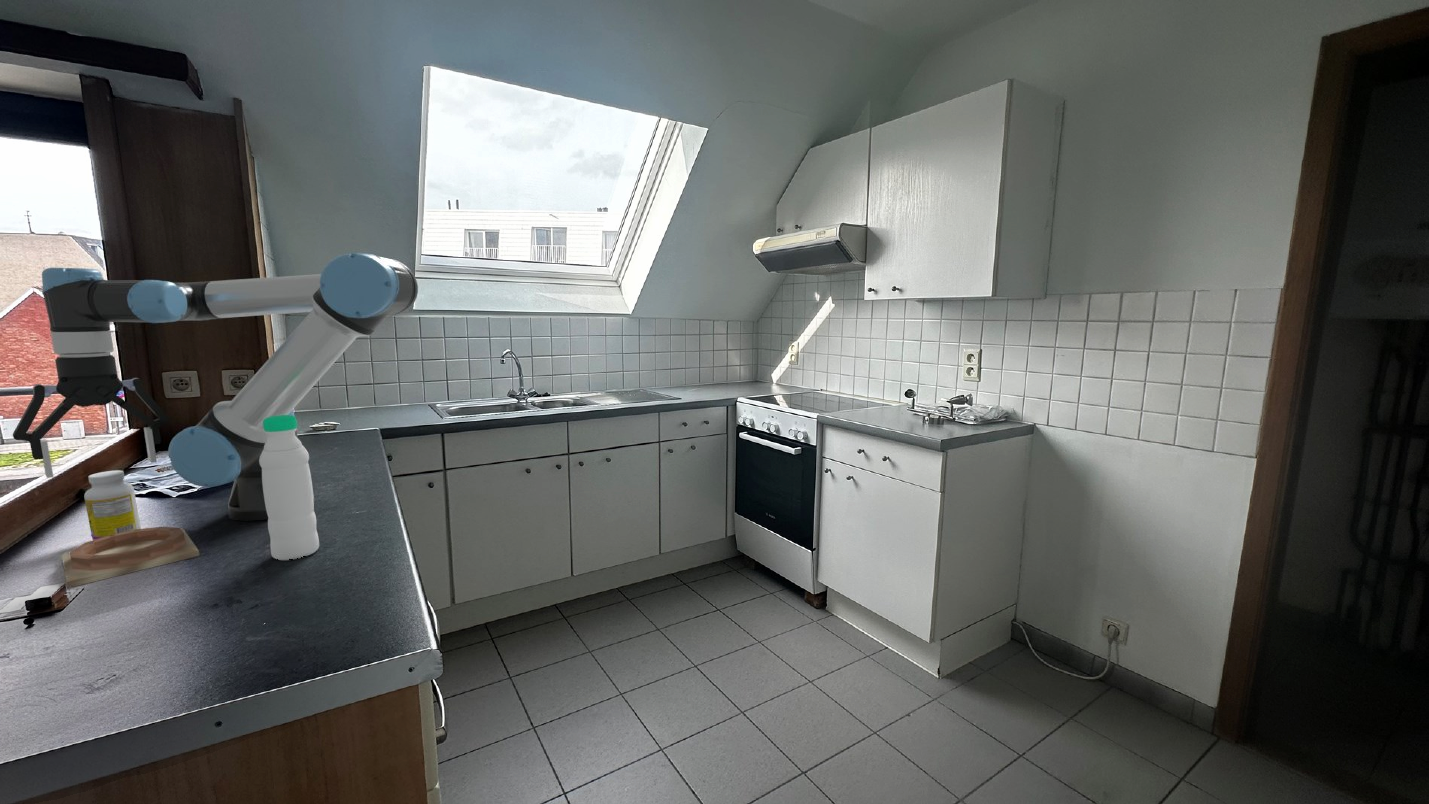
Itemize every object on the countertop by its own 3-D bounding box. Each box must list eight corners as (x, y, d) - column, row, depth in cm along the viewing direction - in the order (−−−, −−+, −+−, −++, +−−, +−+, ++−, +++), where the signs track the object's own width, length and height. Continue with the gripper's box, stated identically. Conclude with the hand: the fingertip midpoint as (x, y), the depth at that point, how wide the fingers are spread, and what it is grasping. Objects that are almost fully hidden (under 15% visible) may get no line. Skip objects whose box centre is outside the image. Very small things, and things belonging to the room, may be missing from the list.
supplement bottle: (104, 534, 116) (93, 470, 113) (148, 529, 118) (138, 467, 116) (84, 547, 109) (72, 480, 107) (130, 542, 112) (119, 476, 110)
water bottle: (328, 549, 108) (313, 414, 104) (287, 564, 102) (269, 421, 98) (304, 543, 111) (288, 411, 107) (263, 557, 105) (244, 418, 101)
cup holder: (183, 533, 116) (181, 518, 116) (199, 555, 106) (197, 539, 105) (62, 559, 104) (59, 543, 104) (67, 587, 94) (64, 570, 93)
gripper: (171, 350, 120) (185, 452, 123) (-25, 358, 101) (-1, 479, 104) (180, 352, 115) (194, 458, 119) (-23, 360, 96) (1, 487, 99)
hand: (103, 468), depth 111 cm, fingers open, 13 cm apart
